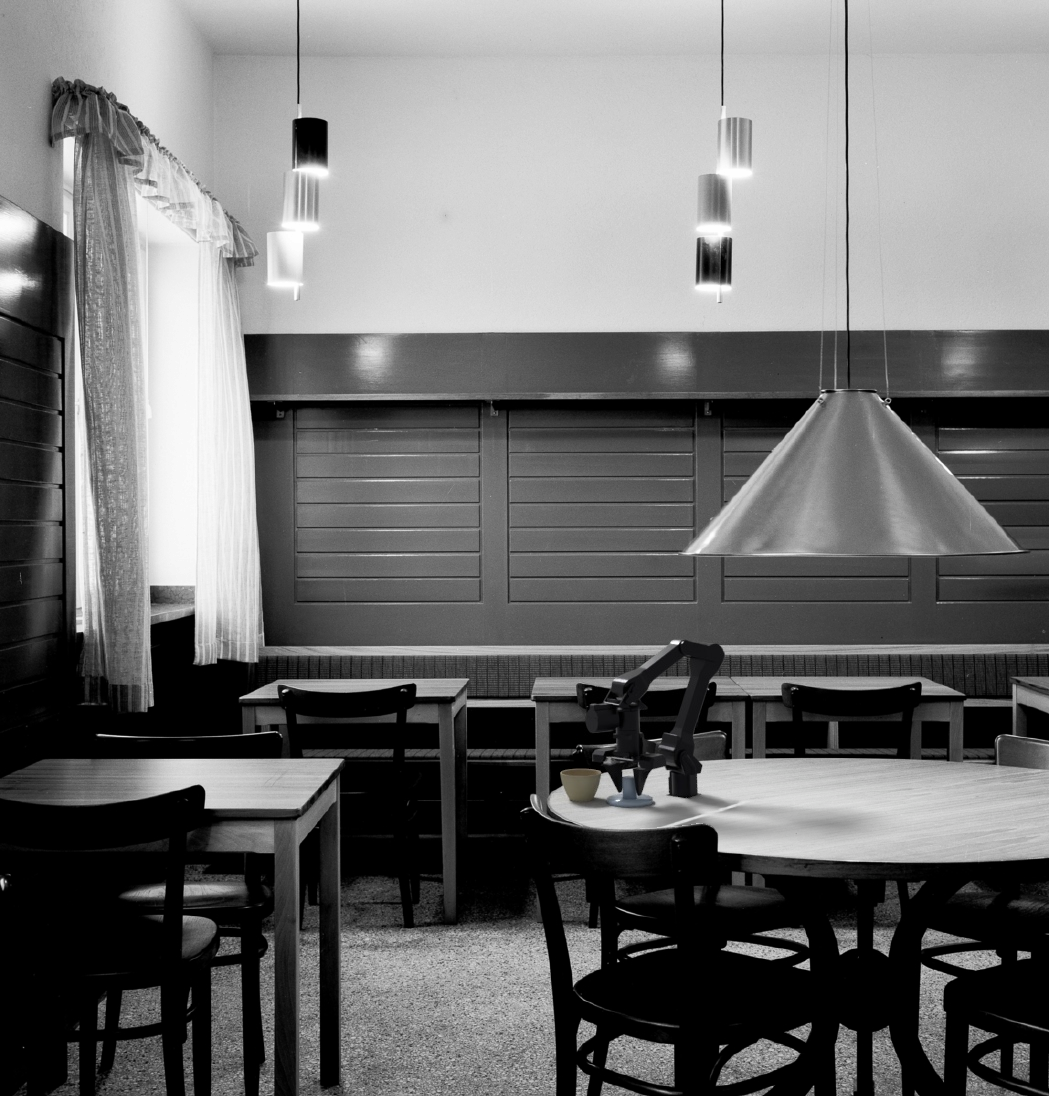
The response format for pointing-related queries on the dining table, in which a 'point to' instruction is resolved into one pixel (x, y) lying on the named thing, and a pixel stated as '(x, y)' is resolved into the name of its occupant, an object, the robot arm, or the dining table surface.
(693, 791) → the robot arm
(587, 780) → the flower pot
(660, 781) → the dining table surface
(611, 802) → the lid
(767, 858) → the dining table surface
